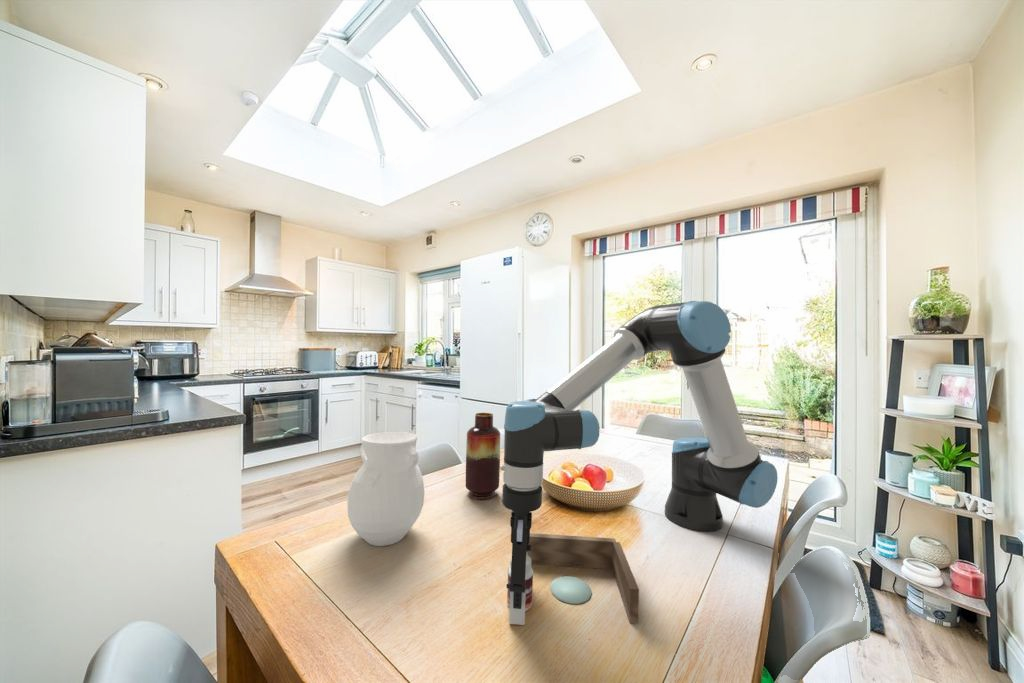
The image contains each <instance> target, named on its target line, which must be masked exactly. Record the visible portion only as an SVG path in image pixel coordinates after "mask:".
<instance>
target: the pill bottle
mask: <svg viewBox="0 0 1024 683" xmlns="http://www.w3.org/2000/svg"><path fill="white" fill-rule="evenodd" d="M511 562H512V556H511V557H510V560H509V568H508V571H507V584H510V583H511ZM533 580H534V571H533V568H532V564H531V558H530V557H529V556H528V555H526V572H525V584H526V597H525V612H526V611H528V610H529V609H531V607H532V605H533V582H534V581H533ZM506 600H507V601H506V603H507V606H508V608H510V589H509V588H507V599H506Z"/></svg>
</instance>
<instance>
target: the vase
mask: <svg viewBox="0 0 1024 683" xmlns="http://www.w3.org/2000/svg"><path fill="white" fill-rule="evenodd" d="M465 445H466V447H465V448H466V449H465V450H466V452H465V454H466V455H465V488H466V489H467V491H468V497H469V498H471V499H473V500H479V501H483V500H484V501H487V500H491V499H493V498H495V496H497V492H496V491H497V490H498V489H499V488H500V473H501V472H500V471H501V469H500V467H501V432H500V430H499V429H498V428H496V427H495V426H494V414H493V413H491V412H478V413H475V415H474V426H472V427H470V428H469V429H468V431H467V432H466V444H465ZM486 499H487V500H486Z"/></svg>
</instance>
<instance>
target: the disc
mask: <svg viewBox="0 0 1024 683" xmlns="http://www.w3.org/2000/svg"><path fill="white" fill-rule="evenodd" d="M550 591H551V594H552V596H554V598H556V599H557V600H559V601H560V602H563V603H566V604H568V605H580V604H583V603H586V602H587V601H589V599H590V598H591V597H592V589H591V587H590V586H589V584H588V583H587V582H586V581H584V580H583V579H581V578H579V577H575V576H569V575H568V576H567V575H566V576H560V577H557V578H555V579H554V580H553V581H552V582H551V585H550Z"/></svg>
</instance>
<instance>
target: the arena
mask: <svg viewBox="0 0 1024 683" xmlns="http://www.w3.org/2000/svg"><path fill="white" fill-rule="evenodd" d="M528 545H531V551H526V552H528V556H529V557H530V558H531V565H534V564H535V565H545V566H546V565H548V566H560V567H561V566H562V567H577V568H578V567H579V568H591V569H604V570H606V569H607V570H612V573H613V576H614V578H615V582H616V585H617V587H618V588H617V589H618V590H619V594H620V598H621V601H622V603H623V607H624V610H625V612H626V615H627V619H628V622H629V623H630V624H639V605H640V604H639V602H640V601H639V600H640V596H639V595H640V588H639V586H638V584H637V582H636V578H635V576H634V574H633V571H632V569H631V567H630V564H629V561H628V559H627V557H626V554H625V552H624V549H623V547H622V544H621V542H619V541H617V540H616V538H612V537H611V538H610V537H599V536H598V537H596V536H581V535H566V534H548V533H533V532H530V541H529V544H528Z"/></svg>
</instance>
